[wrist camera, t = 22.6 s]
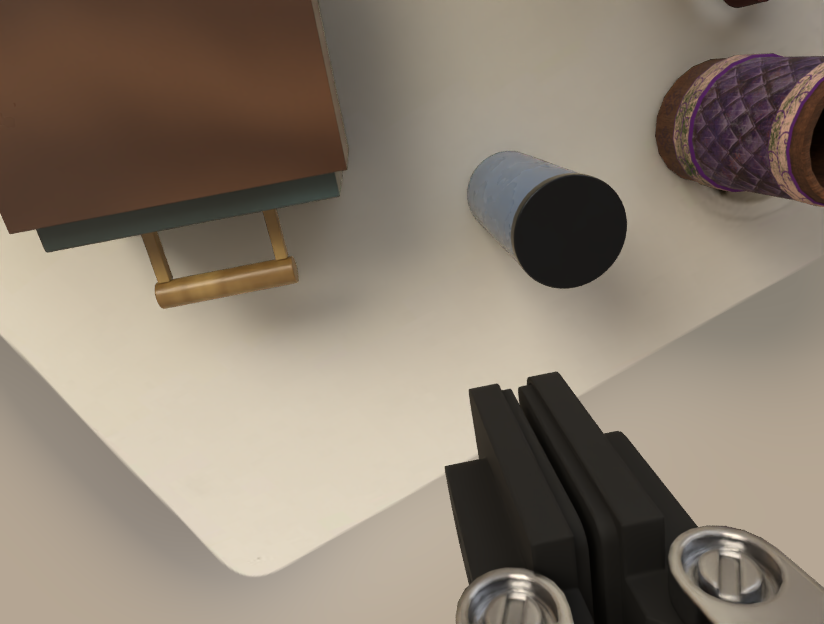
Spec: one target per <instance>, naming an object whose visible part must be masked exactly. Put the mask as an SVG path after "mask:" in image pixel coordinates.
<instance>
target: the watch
mask: <svg viewBox="0 0 824 624" xmlns="http://www.w3.org/2000/svg"><path fill="white" fill-rule="evenodd" d="M724 1H725V2H726V3H727V4H728V5H729V6H731V7H734V8H741V7H745V6H749V5H753V4H757V3H761V2H766V1H768V0H724Z"/></svg>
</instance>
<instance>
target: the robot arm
mask: <svg viewBox="0 0 824 624" xmlns="http://www.w3.org/2000/svg"><path fill="white" fill-rule="evenodd" d="M518 395H519V403H518V401H517V399H516V397H515V395H514V394H513V392H512V390H511V389H506V390H501V388H500V386H499V385H498V384H492V385H487V386H482V387H477V388H472V389H469V397H470V404H471V411H472V417H473V423H474V430H475V436H476V442H477V449H478V455H479V459H478V460H473V461H468V462H463V463H458V464H453V465H448V466H445V473H446V478H447V484H448V489H449V495H450V500H451V505H452V510H453V515H454V520H455V525H456V530H457V534H458V539H459V544H460V548H461V553H462V557H463V561H464V565H465V570H466V574H467V578H468V582H469V586H468V587H467V588H466V589H465V590H464V592H463V594H462V596H461V598H460V599H459V601H458V605H457V611H456V624H824V588H823V587H822V586H821V585H820V584H819V583H818V582H816V581H815V580H814V579H813V578H812V577H811V576H809V575H808V574H807V573H806V572H805V571H804V570H802V569H801V568H800V567H799V566H798V565H796V564H795V563H794V562H793V561H792V560H791V559H789V558H788V557H787V556H786V555H785V554H784V553H782V552H781V551H780V550H779V549H777V548H776V547H775V546H773V545H772V544H770V543H769V542H767V541H766V540H764V539H763V538H761V537H758V536H756V535H754V534H752V533H749V532H747V531H745V530H741V529H736V528H732V527H727V526H702V527H698V526H697V525H696V524H695V523H694V521H693V520H692V519H691V518H690V516H689V515H688V514H687V513H686V511H685V510H684V509H683V508H682V506H681V505H680V504H679V502H678V501H677V500H676V499H675V497H674V496H673V495H672V494H671V492H670V491H669V490H668V489H667V487H666V486H665V485H664V484H663V482H662V481H661V480H660V479H659V477H658V476H657V475H656V473H655V472H654V471H653V470H652V468H651V467H650V466H649V465H648V463H647V462H646V461H645V460H644V459H643V457H642V456H641V455H640V453H639V452H638V451H637V450H636V448H635V447H634V446H633V444H632V443H631V442H630V441H629V439H628V438H627V437H626V436H625V435H624V434H623V433H622V432H619V431H615V432H610V433H605V434H603V432H602V431H601V429H600V428H599V427H598V425H597V424H596V423H595V421H594V420H593V419H592V417H591V416H590V414H589V413H588V412H587V410H586V409H585V408H584V406H583V405H582V404H581V402H580V401H579V399H578V398H577V397H576V395H575V394H574V393H573V391H572V390H571V389H570V387H569V386H568V384H567V383H566V382H565V380H564V379H563V378H562V376H561V375H560V374H559V373H558V372H552V373H547V374H542V375H537V376H532V377H528V379H527V385H526V386H521V387H519V388H518ZM519 404H520V405H519Z"/></svg>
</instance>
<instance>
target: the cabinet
mask: <svg viewBox="0 0 824 624" xmlns="http://www.w3.org/2000/svg"><path fill="white" fill-rule="evenodd" d="M348 153H349V148H348V144H347V139H346V134H345V129H344V124H343V120H342V115H341V110H340V105H339V100H338V96H337V91H336V86H335V81H334V76H333V72H332V67H331V62H330V57H329V52H328V48H327V43H326V38H325V33H324V28H323V23H322V19H321V14H320V9H319V4H318V0H0V214H1V216H2V218H3V220H4V223H5V225H6V227H7V230H8V232H9V234H14V233H19V232H24V231H30V230H35V229H40V228H45V227H51V226H56V225H61V224H66V223H71V222H77V221H82V220H87V219H92V218H98V217H103V216H108V215H113V214H119V213H124V212H129V211H134V210H140V209H145V208H150V207H155V206H160V205H166V204H171V203H176V202H181V201H187V200H192V199H197V198H202V197H208V196H213V195H218V194H223V193H229V192H234V191H239V190H244V189H249V188H255V187H260V186H265V185H270V184H276V183H281V182H286V181H291V180H297V179H302V178H307V177H312V176H318V175H323V174H328V173H333V172H338V171H344V170H347V162H348Z"/></svg>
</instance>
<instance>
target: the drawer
mask: <svg viewBox="0 0 824 624" xmlns="http://www.w3.org/2000/svg"><path fill="white" fill-rule="evenodd" d="M342 177H343V174H342V171H338V172H333V173H328V174H323V175H318V176H312V177H307V178H302V179H297V180H291V181H286V182H281V183H276V184H270V185H265V186H260V187H255V188H249V189H244V190H239V191H234V192H229V193H223V194H218V195H213V196H208V197H202V198H197V199H192V200H187V201H181V202H176V203H171V204H166V205H160V206H155V207H150V208H145V209H140V210H134V211H129V212H124V213H119V214H113V215H108V216H103V217H98V218H92V219H87V220H82V221H77V222H71V223H66V224H61V225H56V226H51V227H45V228H40V229H36V230H37V233H38V235H39V237H40V240H41V242H42V245H43V247H44V249H45V251H46V252H53V251H58V250H64V249H69V248H74V247H79V246H84V245H90V244H95V243H100V242H105V241H110V240H116V239H121V238H126V237H131V236H136V235H141V236H142V238H143V241H144V244H145V247H146V250H147V253H148V255H149V258H150V261H151V264H152V267H153V269H154V272H155V275H156V278H157V281H158V282H157V283H156V285H155V296H156V299H157V302H158V304H159V305H160V307H161V308H163V309H166V308H171V307H176V306H181V305H187V304H192V303H197V302H202V301H207V300H212V299H217V298H222V297H228V296H233V295H238V294H243V293H248V292H253V291H258V290H263V289H268V288H274V287H279V286H284V285H289V284H294V283H298V281H299V276H298V270H297V265H296V262H295V259H294V257H293V256H290V257H288V251H287V248H286V244H285V240H284V236H283V232H282V229H281V225H280V221H279V217H278V213H277V210H276V209H277V208H282V207H287V206H293V205H298V204H303V203H308V202H313V201H319V200H324V199H329V198H334V197H339V196H340V190H341V183H342ZM261 211H263V214H264V218H265V222H266V225H267V229H268V233H269V236H270V240H271V244H272V247H273V251H274V255H275V258H276V259H274V260H269V261H264V262H259V263H254V264H248V265H243V266H238V267H233V268H228V269H223V270H218V271H212V272H207V273H202V274H197V275H192V276H187V277H181V278H176V279H172V278H173V276H172V273H171V270H170V267H169V265H168V262H167V259H166V256H165V253H164V250H163V247H162V244H161V241H160V238H159V236H158V233H157V231H162V230H168V229H173V228H178V227H183V226H188V225H194V224H199V223H204V222H209V221H214V220H220V219H225V218H230V217H235V216H241V215H246V214H251V213H256V212H261Z"/></svg>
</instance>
